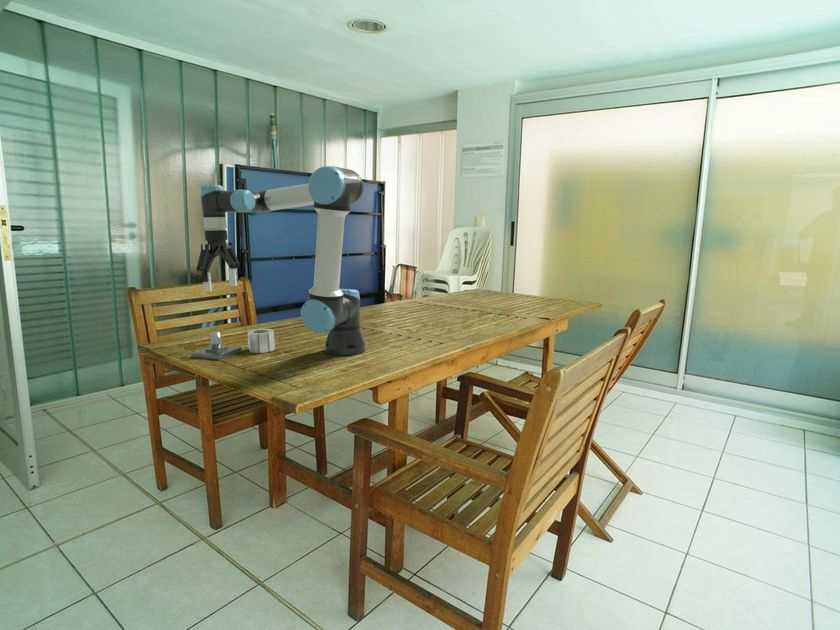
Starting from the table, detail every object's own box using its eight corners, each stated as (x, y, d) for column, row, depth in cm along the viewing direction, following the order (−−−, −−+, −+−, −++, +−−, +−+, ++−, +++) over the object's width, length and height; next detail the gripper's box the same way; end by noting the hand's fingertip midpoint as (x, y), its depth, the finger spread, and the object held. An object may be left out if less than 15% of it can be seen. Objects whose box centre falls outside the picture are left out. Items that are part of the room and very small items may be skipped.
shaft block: (241, 351, 183) (240, 330, 181) (219, 360, 172) (217, 337, 170) (215, 348, 186) (213, 328, 185) (191, 357, 175) (189, 335, 174)
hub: (279, 347, 187) (278, 329, 186) (265, 353, 179) (263, 335, 178) (259, 345, 190) (258, 328, 189) (244, 351, 182) (242, 333, 180)
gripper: (229, 228, 190) (234, 283, 194) (180, 230, 167) (187, 292, 171) (246, 228, 188) (251, 284, 192) (199, 230, 164) (205, 293, 169)
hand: (221, 288), depth 181 cm, fingers open, 13 cm apart
